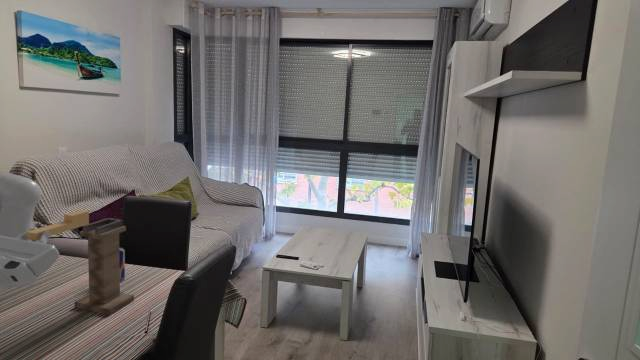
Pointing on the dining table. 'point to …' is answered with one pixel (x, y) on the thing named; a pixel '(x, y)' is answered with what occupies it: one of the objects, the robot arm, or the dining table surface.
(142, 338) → the dining table surface
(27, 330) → the dining table surface
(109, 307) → the holder stand
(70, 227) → the wooden stick
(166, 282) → the dining table surface
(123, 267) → the energy drink
